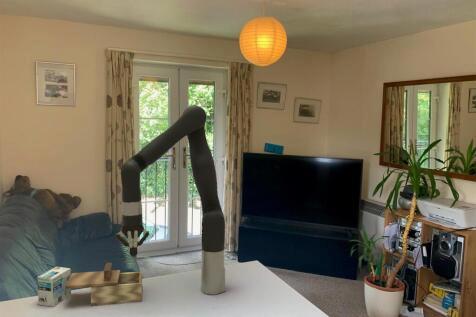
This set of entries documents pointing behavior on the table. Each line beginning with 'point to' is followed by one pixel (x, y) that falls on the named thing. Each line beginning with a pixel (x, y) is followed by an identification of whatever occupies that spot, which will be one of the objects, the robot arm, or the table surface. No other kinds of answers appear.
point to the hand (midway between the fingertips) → (133, 256)
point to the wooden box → (119, 290)
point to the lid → (94, 278)
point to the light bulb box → (53, 286)
